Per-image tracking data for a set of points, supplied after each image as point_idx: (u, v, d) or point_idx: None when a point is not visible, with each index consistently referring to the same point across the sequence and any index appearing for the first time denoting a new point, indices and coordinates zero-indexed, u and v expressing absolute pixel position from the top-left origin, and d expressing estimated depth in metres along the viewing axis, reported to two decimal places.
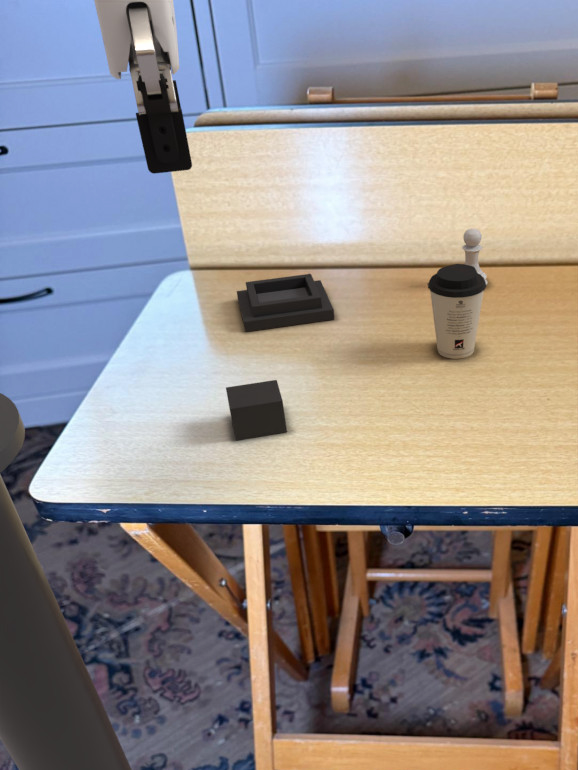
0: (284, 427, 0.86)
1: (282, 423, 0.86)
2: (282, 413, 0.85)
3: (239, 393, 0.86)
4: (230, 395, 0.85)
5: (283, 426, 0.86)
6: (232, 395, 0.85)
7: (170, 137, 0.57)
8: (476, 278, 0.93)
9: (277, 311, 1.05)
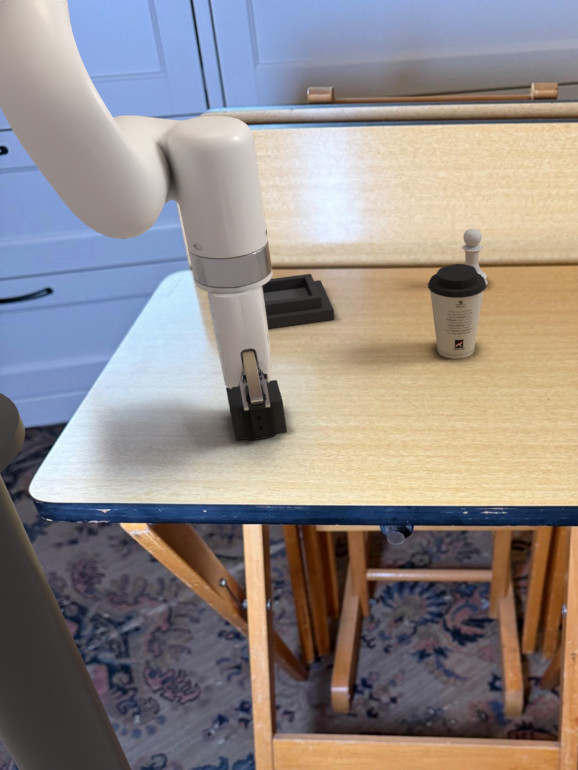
0: (284, 427, 0.86)
1: (282, 423, 0.86)
2: (282, 413, 0.85)
3: (239, 393, 0.86)
4: (230, 395, 0.85)
5: (283, 426, 0.86)
6: (232, 395, 0.85)
7: (263, 421, 0.84)
8: (476, 278, 0.93)
9: (277, 311, 1.05)
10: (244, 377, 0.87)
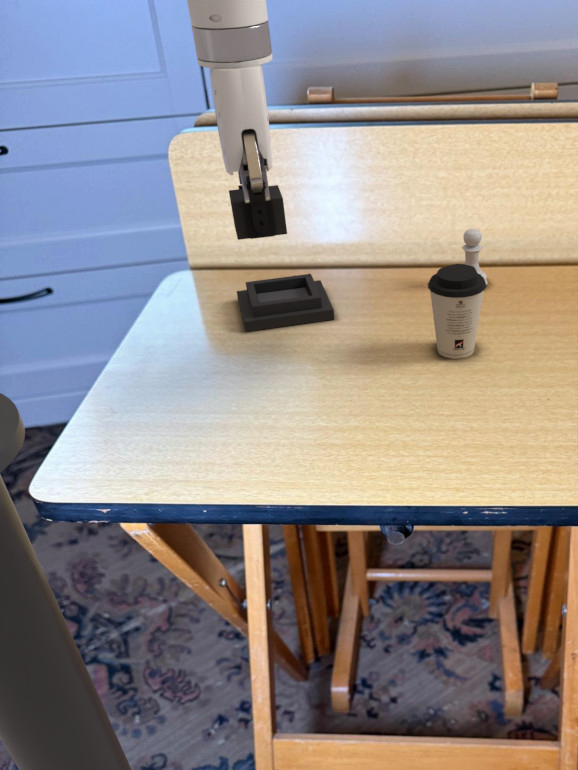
0: (284, 228, 0.90)
1: (282, 223, 0.89)
2: (282, 212, 0.88)
3: (241, 193, 0.89)
4: (232, 195, 0.89)
5: (283, 227, 0.90)
6: (234, 195, 0.89)
7: (264, 216, 0.87)
8: (476, 278, 0.93)
9: (277, 311, 1.05)
10: None
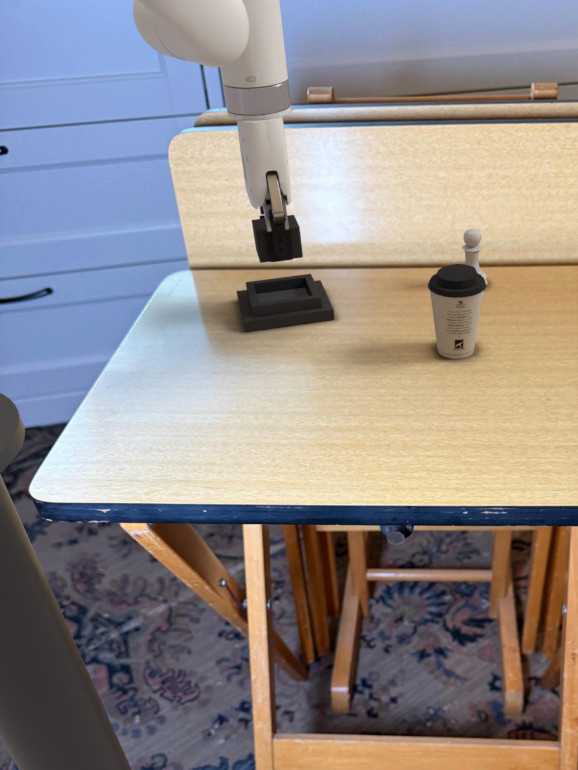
0: (300, 252, 1.03)
1: (299, 248, 1.03)
2: (299, 239, 1.02)
3: (263, 223, 1.02)
4: (255, 224, 1.02)
5: (299, 251, 1.03)
6: (257, 224, 1.02)
7: (283, 243, 1.00)
8: (476, 278, 0.93)
9: (277, 311, 1.05)
10: None
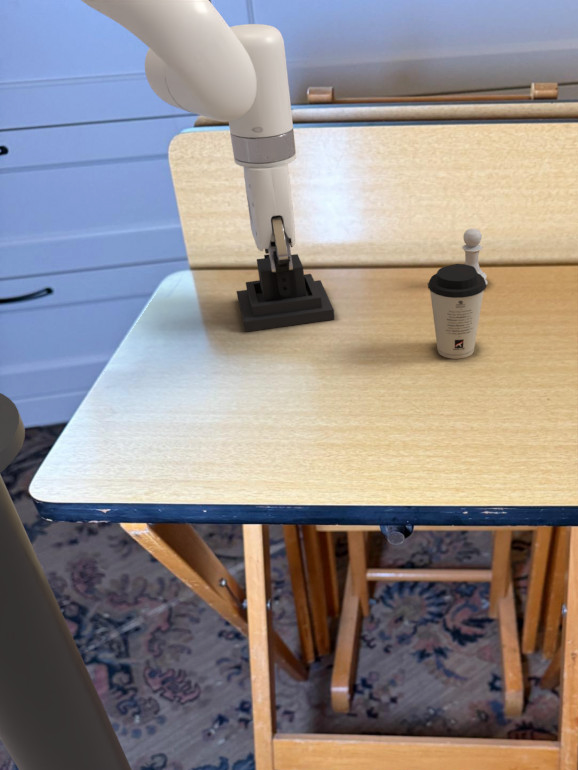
0: (304, 291, 1.06)
1: (302, 287, 1.06)
2: (302, 278, 1.05)
3: (267, 262, 1.06)
4: (260, 264, 1.05)
5: (303, 290, 1.06)
6: (261, 264, 1.05)
7: (287, 283, 1.04)
8: (476, 278, 0.93)
9: (277, 311, 1.05)
10: None
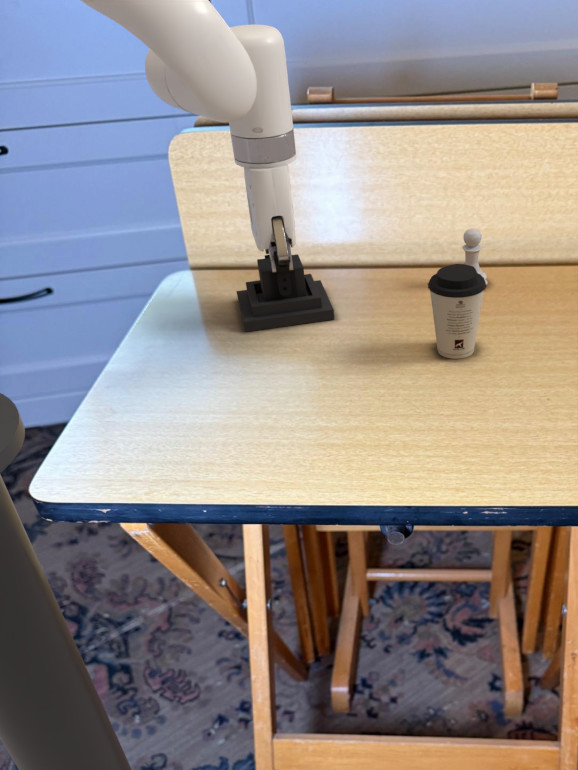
0: (304, 291, 1.07)
1: (302, 287, 1.06)
2: (303, 278, 1.05)
3: (268, 263, 1.06)
4: (260, 264, 1.05)
5: (303, 290, 1.06)
6: (262, 264, 1.05)
7: (288, 283, 1.04)
8: (476, 278, 0.93)
9: (277, 311, 1.05)
10: None
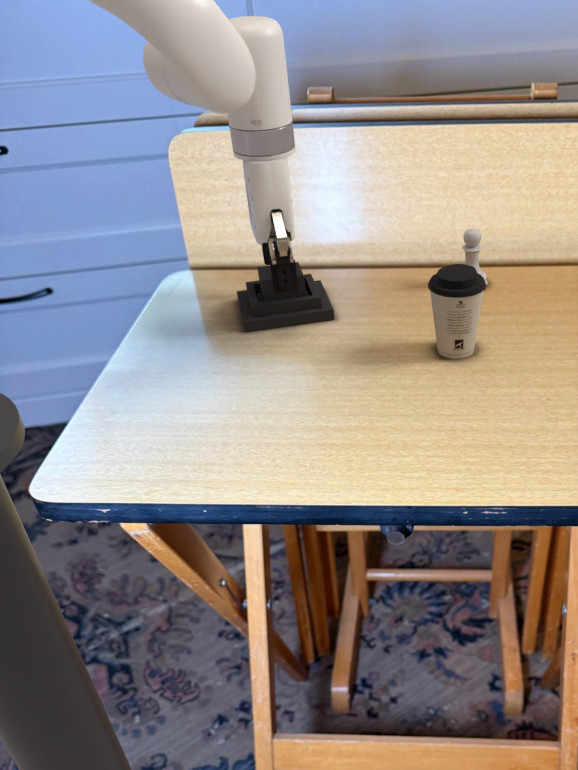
0: None
1: (303, 295, 1.07)
2: (303, 286, 1.06)
3: (268, 270, 1.06)
4: (261, 272, 1.06)
5: None
6: (262, 272, 1.06)
7: (288, 275, 1.01)
8: (476, 278, 0.93)
9: (277, 311, 1.05)
10: None
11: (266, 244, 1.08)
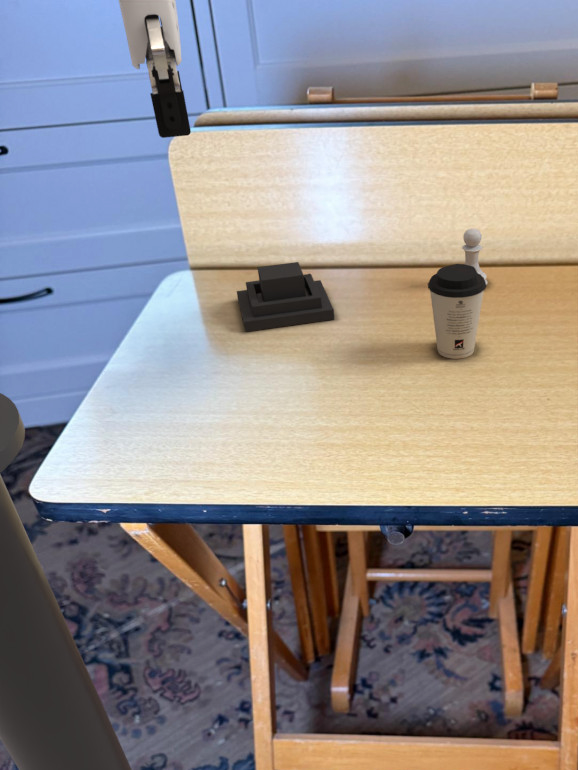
0: None
1: (303, 295, 1.07)
2: (303, 286, 1.06)
3: (268, 270, 1.06)
4: (261, 272, 1.06)
5: None
6: (262, 272, 1.06)
7: (175, 111, 0.79)
8: (476, 278, 0.93)
9: (277, 311, 1.05)
10: None
11: (156, 85, 0.86)
